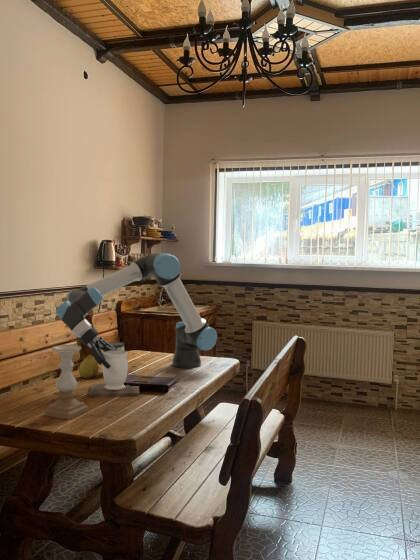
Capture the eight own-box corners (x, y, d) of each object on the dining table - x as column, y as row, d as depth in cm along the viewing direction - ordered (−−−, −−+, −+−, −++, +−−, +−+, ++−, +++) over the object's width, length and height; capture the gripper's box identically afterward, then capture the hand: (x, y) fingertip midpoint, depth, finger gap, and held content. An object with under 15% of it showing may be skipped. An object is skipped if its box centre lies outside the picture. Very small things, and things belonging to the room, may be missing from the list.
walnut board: (138, 385, 216) (138, 382, 216) (139, 395, 200) (139, 392, 200) (92, 386, 213) (92, 383, 213) (88, 396, 197) (88, 394, 197)
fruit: (74, 378, 227) (74, 352, 226) (87, 374, 235) (87, 349, 235) (89, 380, 223) (89, 354, 223) (102, 376, 232) (102, 350, 231)
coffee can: (106, 369, 245) (106, 341, 245) (126, 370, 244) (126, 342, 244) (99, 374, 235) (100, 345, 235) (121, 375, 234) (121, 345, 234)
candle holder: (64, 407, 184) (64, 343, 183) (88, 411, 179) (88, 345, 178) (43, 415, 174) (43, 348, 172) (68, 420, 169) (69, 351, 168)
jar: (132, 386, 210) (132, 351, 209) (120, 392, 200) (120, 355, 200) (110, 383, 213) (110, 349, 213) (97, 389, 204) (97, 353, 203)
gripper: (90, 334, 220) (122, 368, 219) (67, 343, 195) (104, 382, 194) (101, 322, 219) (134, 357, 218) (80, 330, 194) (117, 370, 193)
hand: (120, 369), depth 206 cm, fingers open, 13 cm apart
